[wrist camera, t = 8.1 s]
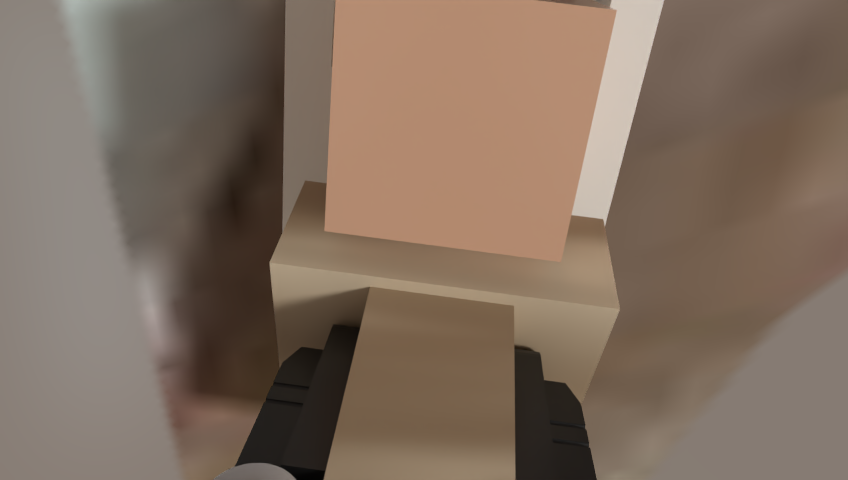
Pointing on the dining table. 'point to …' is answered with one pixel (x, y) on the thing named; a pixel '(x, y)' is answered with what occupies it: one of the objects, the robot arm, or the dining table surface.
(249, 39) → the dining table surface
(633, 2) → the sweep board
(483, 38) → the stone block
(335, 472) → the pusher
